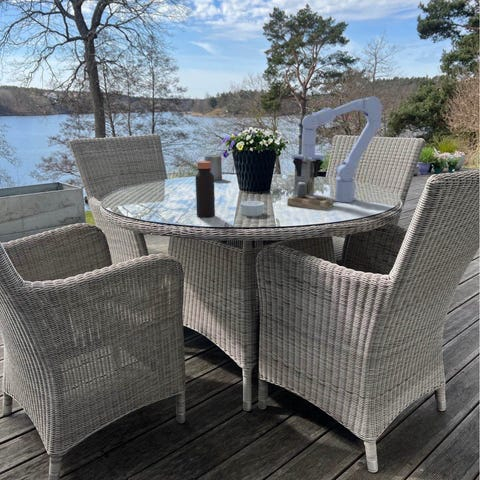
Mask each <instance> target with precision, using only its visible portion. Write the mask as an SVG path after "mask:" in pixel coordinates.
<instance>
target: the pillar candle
mask: <svg viewBox="0 0 480 480" xmlns="http://www.w3.org/2000/svg"><path fill="white" fill-rule="evenodd" d="M204 161H209V162H211V169H210V172H211V173H212V174H213V175H214V182H215V181H216V182H217V181H221V180H222V179H223V172H222V171H223V170H222V169H223V168H222V167H223V166H222V155H221V154H220V155H219V154H208V155H207V154H206V155H204Z"/></svg>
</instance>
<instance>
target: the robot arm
mask: <svg viewBox="0 0 480 480" xmlns="http://www.w3.org/2000/svg"><path fill="white" fill-rule="evenodd" d="M382 109H383V105H382V103H381V100H380V98H379V97H377V96H373V95H372V96H367V97H364V98H360V99H355V100H352V101H350V102H347V103H345V104H343V105H340V106H338V107H335V108H331V107H327V106H324V107H323V108H322V109H321V110H319V111H316V112H315V111H313V112H311V114H308V115H306V116H304V117H303V118H302V121H301V126H302V134H301V154H297V153H293V154H291V160H292V163H293V164H294V168H295V167H296V170H297V175H298V176H301V168H302V162H303V159H304V160H315V161H313V164H314V179H315V178H318V175H319V171H320V168H321V167H322V165H323V164H324V161H326V155H318V154H316V141H317V138H316V137H317V133H316V129H317V128H316V127H317V126H318V127H320V126H323V125H326V124H328V123H330V122H334V120H335V118H336V117H338V116H340V115H343V114H346V113H348V112H349V113H350V112H352V111H361V112H362V113H363V114H364V117H365V119H366V124H365V126H364V128H363V130H362V131H361V133H360V135H359V136H358V138H357V140H356V142H355V143H354V145H353V147H352V149H351V150H350V152H349V154H348V155H347V157H346V158H345V159H344V160H343V162H342V163H340V165H338V166H337V168H336V174H337V178H336V179H335V193H334V194H335V195H334V197H335V198H333V202H340V203H348V204H349V203H351V202H354V201H356V200H357V197H355V196H356V195H355V194H356V183H355V181H354V177H355V172H356V169H357V168H358V163H359V162H360V159H361V158H362V157H363V155H364V152H365V151H366V149H367V148H368V146H369V145H370V143H371V141H372V139H373V138H374V136H375V134H376V132H377V131H378V129H379V127H380V126H381V124H382Z"/></svg>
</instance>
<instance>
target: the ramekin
mask: <svg viewBox="0 0 480 480" xmlns="http://www.w3.org/2000/svg"><path fill="white" fill-rule="evenodd" d="M264 205H265V203H264V202H263V201H259V200H246V201H241V202H240V206H241V208H240V209H241V214H242V215H243V216H246V217H258V216H262V215H263V213H264Z"/></svg>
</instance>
